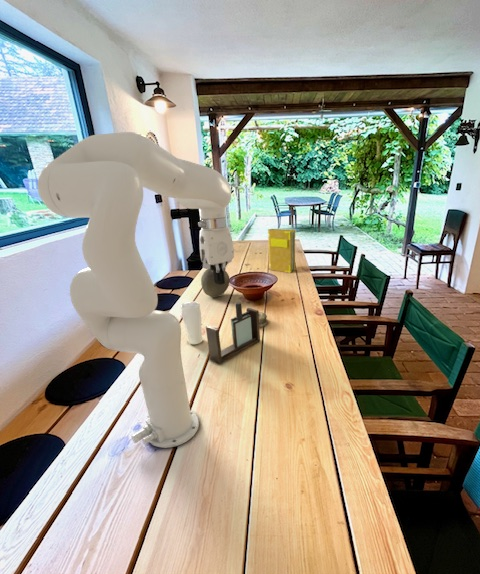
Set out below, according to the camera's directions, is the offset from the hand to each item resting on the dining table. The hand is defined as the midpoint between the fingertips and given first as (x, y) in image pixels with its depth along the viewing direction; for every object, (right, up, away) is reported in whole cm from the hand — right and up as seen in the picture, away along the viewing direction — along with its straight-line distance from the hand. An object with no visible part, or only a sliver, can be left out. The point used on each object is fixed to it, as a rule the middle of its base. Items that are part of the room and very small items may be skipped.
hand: (219, 283), depth 102 cm
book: (+24, +21, +105) cm, 110 cm away
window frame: (+4, -22, +12) cm, 26 cm away
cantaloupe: (-11, +1, +65) cm, 66 cm away
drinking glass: (-12, -20, +19) cm, 30 cm away
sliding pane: (+7, -20, +13) cm, 25 cm away
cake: (+10, -13, +33) cm, 37 cm away
